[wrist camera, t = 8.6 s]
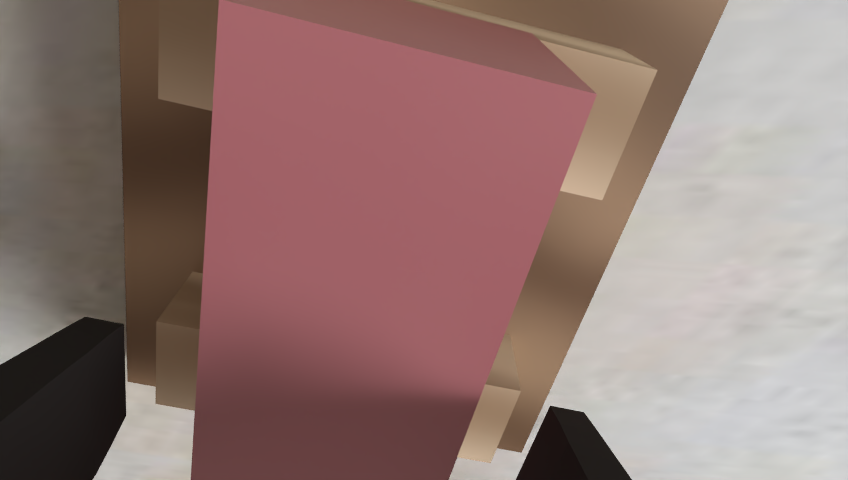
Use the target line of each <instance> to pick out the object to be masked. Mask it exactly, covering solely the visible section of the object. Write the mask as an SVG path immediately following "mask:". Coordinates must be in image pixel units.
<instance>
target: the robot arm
mask: <svg viewBox="0 0 848 480" xmlns="http://www.w3.org/2000/svg"><path fill="white" fill-rule="evenodd" d="M125 417H126V391H125V351H124V324H120V323H114V322H109V321H104V320H99V319H93V318H88V317H84V318H82V319H80V320H78V321H77V322H75V323H73V324H71V325H69V326H67V327H66V328H64V329H62V330H60V331H59V332H57V333H55V334H53V335H52V336H50V337H48V338H46V339H45V340H43V341H41V342H40V343H38V344H36V345H34V346H33V347H31V348H29V349H27V350H26V351H24V352H22V353H20V354H19V355H17V356H15V357H13V358H12V359H10V360H8V361H6V362H5V363H3V364H1V365H0V480H92V479H93V478H94V476H95V475H96V473H97V471H98V469H99V467H100V465H101V464H102V462H103V460H104V458H105V456H106V454H107V452H108V450H109V449H110V447H111V445H112V443H113V441H114V439H115V437H116V435H117V433H118V431H119V429H120V427H121V425H122V423H123V421H124V419H125ZM516 480H632V479H631V478H630V476H629V475H628V474H627V472H626V471H625V469H624V468H623V467H622V465H621V464H620V462H619V461H618V459H617V458H616V457H615V455H614V454H613V452H612V451H611V450H610V448H609V447H608V445H607V444H606V442H605V441H604V440H603V438H602V437H601V435H600V434H599V432H598V431H597V430H596V428H595V427H594V426H593V424H592V423H591V421H590V420H589V419H588V417H587V416H586V415H585V413H584V412H580V411H574V410H569V409H564V408H559V407H554V406H550V407H549V410H548V412H547V414H546V416H545V418H544V420H543V423H542V425H541V427H540V429H539V431H538V433H537V435H536V438H535V440H534V442H533V444H532V446H531V448H530V450H529V453H528V455H527V457H526V459H525V461H524V463H523V466H522V468H521V470H520V472H519V474H518V476H517V478H516Z"/></svg>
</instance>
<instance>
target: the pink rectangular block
mask: <svg viewBox="0 0 848 480" xmlns="http://www.w3.org/2000/svg"><path fill="white" fill-rule="evenodd" d="M596 96H597V94H596V93H595V92H594V91H593V90H592V89H591V88H590V87H589V86H588V85H587V84H586V83H585V82H584V81H582V80H581V79H580V78H579V77H578V76H577V75H576V74H575V73H574V72H573V71H572V70H571V69H570V68H569V67H568V66H566V65H565V64H564V63H563V62H562V61H561V60H560V59H559V58H558V57H557V56H556V55H555V54H554V53H553V52H551V51H550V50H549V49H548V48H547V47H546V46H545V45H544V44H543V43H542V42H541V41H540V40H539V39H538V38H537V37H535V36H534V35H533V34H532V33H529V32H525V31H521V30H517V29H514V28H510V27H506V26H502V25H498V24H494V23H490V22H487V21H483V20H479V19H475V18H471V17H467V16H463V15H460V14H456V13H452V12H448V11H444V10H440V9H437V8H433V7H429V6H425V5H421V4H417V3H413V2H410V1H406V0H219V6H218V23H217V40H216V58H215V75H214V92H213V109H212V126H211V143H210V161H209V178H208V195H207V212H206V229H205V246H204V263H203V281H202V298H201V315H200V332H199V349H198V366H197V384H196V401H195V418H194V435H193V452H192V469H191V480H449V477H450V474H451V472H452V469H453V467H454V464H455V461H456V459H457V456H458V454H459V451H460V448H461V446H462V443H463V441H464V438H465V436H466V433H467V430H468V428H469V425H470V423H471V420H472V417H473V415H474V412H475V410H476V407H477V404H478V402H479V399H480V397H481V394H482V391H483V389H484V386H485V384H486V381H487V378H488V376H489V373H490V371H491V368H492V366H493V363H494V360H495V358H496V355H497V353H498V350H499V347H500V345H501V342H502V340H503V337H504V334H505V332H506V329H507V327H508V324H509V321H510V319H511V316H512V314H513V311H514V308H515V306H516V303H517V301H518V298H519V295H520V293H521V290H522V288H523V285H524V283H525V280H526V277H527V275H528V272H529V270H530V267H531V264H532V262H533V259H534V257H535V254H536V251H537V249H538V246H539V244H540V241H541V238H542V236H543V233H544V231H545V228H546V225H547V223H548V220H549V218H550V215H551V213H552V210H553V207H554V205H555V202H556V200H557V197H558V194H559V192H560V189H561V187H562V184H563V181H564V179H565V176H566V174H567V171H568V168H569V166H570V163H571V161H572V158H573V155H574V153H575V150H576V148H577V145H578V142H579V140H580V137H581V135H582V132H583V130H584V127H585V124H586V122H587V119H588V117H589V114H590V111H591V109H592V106H593V104H594V101H595V98H596Z"/></svg>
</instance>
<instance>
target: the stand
mask: <svg viewBox="0 0 848 480" xmlns="http://www.w3.org/2000/svg"><path fill="white" fill-rule="evenodd" d="M406 1H410V2H413V3H417V4H421V5H425V6H429V7H433V8H437V9H440V10H444V11H448V12H452V13H456V14H460V15H463V16H467V17H471V18H475V19H479V20H483V21H487V22H490V23H494V24H498V25H502V26H506V27H510V28H514V29H517V30H521V31H525V32H529V33H532V34H533V35H534V36H535V37H537V38H538V39H539V40H540V41H541V42H542V43H543V44H544V45H545V46H546V47H547V48H548V49H549V50H550V51H551V52H553V53H554V54H555V55H556V56H557V57H558V58H559V59H560V60H561V61H562V62H563V63H564V64H565V65H566V66H568V67H569V68H570V69H571V70H572V71H573V72H574V73H575V74H576V75H577V76H578V77H579V78H580V79H581V80H582V81H584V82H585V83H586V84H587V85H588V86H589V87H590V88H591V89H592V90H593V91H594V92H595V93H596V94H597V96H596V98H595V101H594V104H593V106H592V109H591V111H590V114H589V117H588V119H587V122H586V124H585V127H584V130H583V132H582V135H581V137H580V140H579V142H578V145H577V148H576V150H575V153H574V155H573V158H572V161H571V163H570V166H569V168H568V171H567V174H566V176H565V179H564V181H563V184H562V187H561V189H560V192H559V194H558V197H557V200H556V202H555V205H554V207H553V210H552V213H551V215H550V218H549V220H548V223H547V225H546V228H545V231H544V233H543V236H542V238H541V241H540V244H539V246H538V249H537V251H536V254H535V257H534V259H533V262H532V264H531V267H530V270H529V272H528V275H527V277H526V280H525V283H524V285H523V288H522V290H521V293H520V295H519V298H518V301H517V303H516V306H515V308H514V311H513V314H512V316H511V319H510V321H509V324H508V327H507V329H506V332H505V334H504V337H503V340H502V342H501V345H500V347H499V350H498V353H497V355H496V358H495V360H494V363H493V366H492V368H491V371H490V373H489V376H488V378H487V381H486V384H485V386H484V389H483V391H482V394H481V397H480V399H479V402H478V404H477V407H476V410H475V412H474V415H473V417H472V420H471V423H470V425H469V428H468V430H467V433H466V436H465V438H464V441H463V443H462V446H461V448H460V451H459V454H458V456H457V457H459V458H465V459H470V460H476V461H482V462H487V463H491V461H492V458H493V456H494V454H495V451H496V449H497V448H499V449H505V450H511V451H516V452H522V450H523V448H524V446H525V444H526V441H527V439H528V437H529V435H530V433H531V430H532V428H533V426H534V424H535V422H536V419H537V417H538V415H539V413H540V411H541V409H542V406H543V404H544V402H545V400H546V398H547V395H548V393H549V391H550V389H551V387H552V385H553V382H554V380H555V378H556V376H557V374H558V371H559V369H560V367H561V365H562V363H563V361H564V358H565V356H566V354H567V352H568V350H569V347H570V345H571V343H572V341H573V339H574V336H575V334H576V332H577V330H578V328H579V326H580V323H581V321H582V319H583V317H584V315H585V312H586V310H587V308H588V306H589V304H590V302H591V299H592V297H593V295H594V293H595V291H596V288H597V286H598V284H599V282H600V280H601V278H602V275H603V273H604V271H605V269H606V267H607V264H608V262H609V260H610V258H611V256H612V254H613V251H614V249H615V247H616V245H617V243H618V240H619V238H620V236H621V234H622V232H623V229H624V227H625V225H626V223H627V221H628V219H629V216H630V214H631V212H632V210H633V208H634V205H635V203H636V201H637V199H638V197H639V195H640V192H641V190H642V188H643V186H644V184H645V181H646V179H647V177H648V175H649V173H650V171H651V168H652V166H653V164H654V162H655V160H656V157H657V155H658V153H659V151H660V149H661V146H662V144H663V142H664V140H665V138H666V136H667V133H668V131H669V129H670V127H671V125H672V122H673V120H674V118H675V116H676V114H677V112H678V109H679V107H680V105H681V103H682V101H683V98H684V96H685V94H686V92H687V90H688V88H689V85H690V83H691V81H692V79H693V77H694V74H695V72H696V70H697V68H698V66H699V63H700V61H701V59H702V57H703V55H704V53H705V50H706V48H707V46H708V44H709V42H710V39H711V37H712V35H713V33H714V31H715V29H716V26H717V24H718V22H719V20H720V18H721V15H722V13H723V11H724V9H725V7H726V5H727V2H728V0H406ZM218 6H219V0H119V35H120V77H121V120H122V162H123V204H124V247H125V289H126V331H127V373H128V382H133V383H139V384H144V385H150V386H155V387H156V404H160V405H166V406H172V407H177V408H183V409H189V410H194V411H195V401H196V384H197V366H198V349H199V332H200V315H201V298H202V281H203V263H204V246H205V229H206V212H207V195H208V178H209V161H210V143H211V126H212V109H213V92H214V75H215V58H216V40H217V23H218Z"/></svg>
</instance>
